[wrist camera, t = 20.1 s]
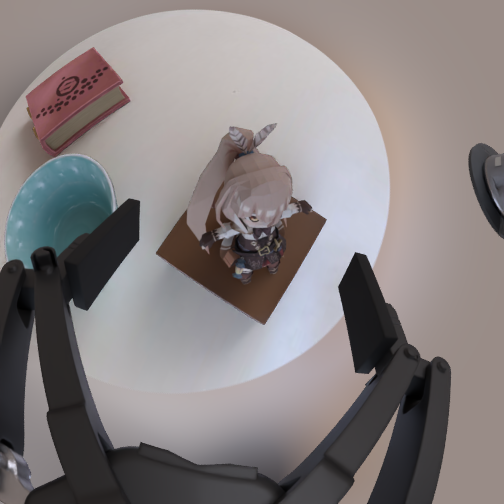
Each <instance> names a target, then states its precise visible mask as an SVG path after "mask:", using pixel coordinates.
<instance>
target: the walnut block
mask: <svg viewBox="0 0 504 504" xmlns="http://www.w3.org/2000/svg"><path fill="white" fill-rule="evenodd" d="M223 187H224V181H223V183H222V184H221V186H220V188H219V189H218V191H217V192H216V195H215V204H216V202H217V200H218V198H219V195H220V192H221V190H222V189H223ZM293 202H299V201H298V200H296V199H295V198H293V197H291V200H290V202H289V204H293ZM308 212H309V211H308ZM280 220H281V222H282V224H283V226H284V228H285V235H284V238H285V239H286V250H285V252H284V257H281V259H280V262H281V263H280V264H279V266H278V271H277V272H276V273H275V274H270V272H269V270H268V268H267V267H266V266H265V267H262V269H257V270H253V274H252V276H251V282H249V283H248V284H243V283H242V282H241V279H238V278H235V277H233V275H232V274H233V273H235V272H236V271H235V268H236V266H235V265H234V266H231V267H230V268H229V267H228V265H227V264H226V263H225V261H223V260H222V258H221V256H220V248H221V244H222V242H223V240H224V238H225V237H224V238H222V239H219V240H217V241H215V242H214V243H213V245H212V247H211V248H209V254H208V252H207V251H206V250H205V249H202V247H200V245H199V244H200V243H199V240H198V239H197V237H196V236H195V234H194V233H193V232H192V230H191V229H190V227H189V226H188V225H187V210H186V211H185V212H184V214H183V215H182V216H181V218H180V219H179V221H178V222H177V223H176V225H175V226H174V228H173V229H172V230H171V232H170V233H169V235H168V236H167V238H166V239H165V240H164V242H163V243H162V245H161V246H160V248H159V249H158V251H157V252H156V254H157V255H158V256H160V257H161V258H162V259H163V260H165V261H166V262H167V263H168V264H170V265H171V266H173V267H174V268H176V269H177V270H179V271H180V272H181V273H183V274H184V275H186V276H187V277H189V278H190V279H192V280H193V281H195V282H196V283H198V284H199V285H201V286H202V287H204V288H205V289H207V290H208V291H210V292H211V293H213V294H214V295H216V296H217V297H219V298H220V299H222V300H223V301H225V302H227V303H228V304H230V305H231V306H233V307H234V308H236V309H237V310H239V311H241V312H242V313H244V314H245V315H247V316H249V317H250V318H252V319H253V320H255V321H257V322H259V323H261V324H263V325H265V323H266V322H267V320H268V318H269V317H270V315H271V314H272V312H273V310H274V309H275V307H276V306H277V304H278V302H279V301H280V299H281V297H282V296H283V294H284V293H285V291H286V289H287V288H288V286H289V284H290V283H291V281H292V279H293V278H294V276H295V274H296V273H297V271H298V269H299V268H300V266H301V264H302V262H303V261H304V259H305V257H306V256H307V254H308V252H309V250H310V249H311V247H312V245H313V243H314V242H315V240H316V238H317V236H318V235H319V233H320V231H321V229H322V228H323V226H324V224H325V222H326V220H327V219H325V218H324V217H322V216H321V215H319V214H318V213H316V212H315V211H313V210H312V212H309V214H307V215H306V214H305V213H303V212H299V213H295V214H292V215H291V217H288V218H286V224H287V227H286V224H285V221H284V219H280ZM220 221H221V223H222V224H223V223H229V222H231V220H230V219H228V218H226V216H225V215H224V213H223V212H222V209H221V211H220ZM205 226H206V232H209V231H212V230H214V229H218V228H220V227H221V225H220V224H219V223H218V221H217V220H216V210H215V208H211V209H210V211H209V214H208V217H207V220H206V223H205ZM236 236H237V234H236V235H234V238H233V241H232V244H231V247H230V249H231V248H232V247H233V246H234V245H235V239H236ZM208 247H209V245H208Z"/></svg>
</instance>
